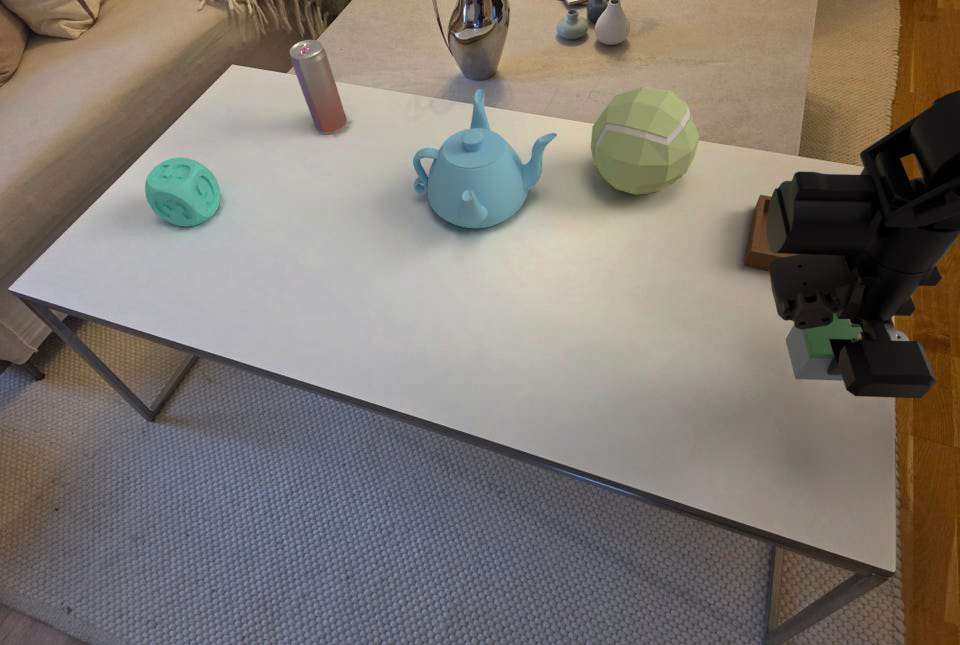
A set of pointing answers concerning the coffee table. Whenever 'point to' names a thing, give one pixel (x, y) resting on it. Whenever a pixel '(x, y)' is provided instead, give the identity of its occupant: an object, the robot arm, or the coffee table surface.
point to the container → (817, 348)
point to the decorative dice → (182, 191)
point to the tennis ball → (644, 140)
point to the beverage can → (318, 86)
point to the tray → (760, 238)
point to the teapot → (478, 174)
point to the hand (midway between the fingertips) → (826, 351)
